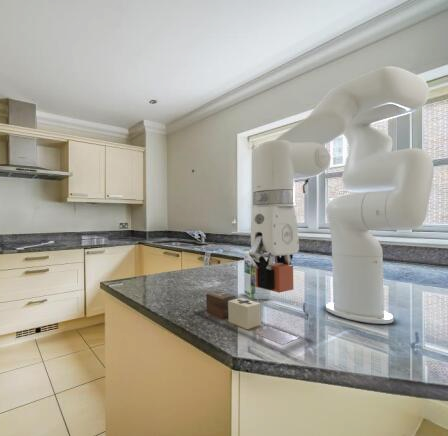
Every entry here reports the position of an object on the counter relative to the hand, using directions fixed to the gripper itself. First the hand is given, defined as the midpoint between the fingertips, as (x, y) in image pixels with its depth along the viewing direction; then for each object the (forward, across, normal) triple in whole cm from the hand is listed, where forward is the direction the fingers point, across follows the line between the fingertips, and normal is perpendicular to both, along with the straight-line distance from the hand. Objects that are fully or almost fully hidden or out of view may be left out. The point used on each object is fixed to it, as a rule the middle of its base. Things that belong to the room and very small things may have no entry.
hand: (274, 285), depth 52 cm
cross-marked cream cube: (+10, 0, +7) cm, 13 cm away
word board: (+11, 0, +7) cm, 13 cm away
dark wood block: (+10, 0, +14) cm, 17 cm away
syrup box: (+11, +23, +19) cm, 32 cm away
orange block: (+1, 0, 0) cm, 1 cm away
